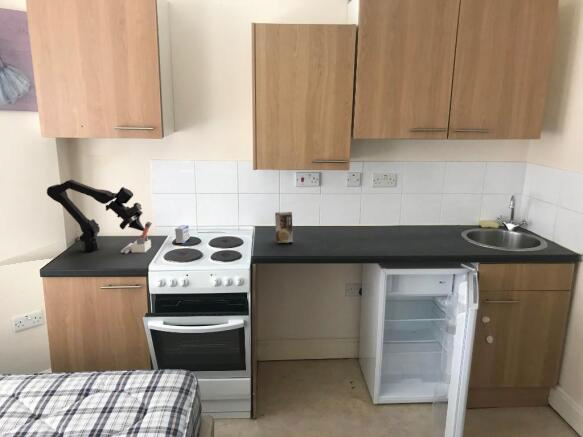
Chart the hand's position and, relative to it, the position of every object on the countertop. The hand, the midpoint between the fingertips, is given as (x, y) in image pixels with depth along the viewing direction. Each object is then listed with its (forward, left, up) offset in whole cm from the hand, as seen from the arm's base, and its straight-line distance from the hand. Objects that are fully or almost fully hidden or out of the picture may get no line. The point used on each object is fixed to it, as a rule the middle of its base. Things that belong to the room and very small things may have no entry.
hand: (144, 230), depth 232 cm
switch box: (-2, -1, -10) cm, 11 cm away
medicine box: (+11, +18, -11) cm, 23 cm away
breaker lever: (-1, 0, -5) cm, 5 cm away
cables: (-9, -3, -10) cm, 14 cm away
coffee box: (+64, +35, -10) cm, 73 cm away
